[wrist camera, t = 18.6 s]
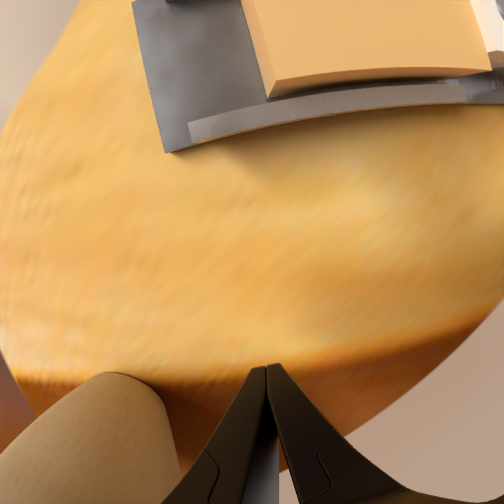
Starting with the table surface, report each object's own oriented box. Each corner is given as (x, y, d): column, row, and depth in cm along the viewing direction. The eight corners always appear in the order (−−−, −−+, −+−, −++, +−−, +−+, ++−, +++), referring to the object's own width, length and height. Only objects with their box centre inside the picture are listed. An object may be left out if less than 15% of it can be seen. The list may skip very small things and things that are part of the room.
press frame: (475, -12, 12) (529, -36, 6) (510, 104, 16) (575, 105, 9) (136, 8, 14) (90, -42, 7) (169, 152, 17) (125, 160, 11)
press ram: (409, -16, 12) (447, -46, 7) (441, 80, 14) (492, 70, 10) (237, -10, 13) (234, -56, 8) (267, 98, 15) (276, 80, 10)
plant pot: (80, 436, 26) (35, 552, 11) (34, 323, 21) (-74, 459, 6) (215, 457, 26) (206, 599, 11) (208, 343, 21) (177, 572, 6)
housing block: (467, 6, 12) (520, -16, 7) (487, 69, 14) (547, 61, 8) (413, -3, 13) (463, -37, 7) (435, 66, 14) (497, 50, 9)
